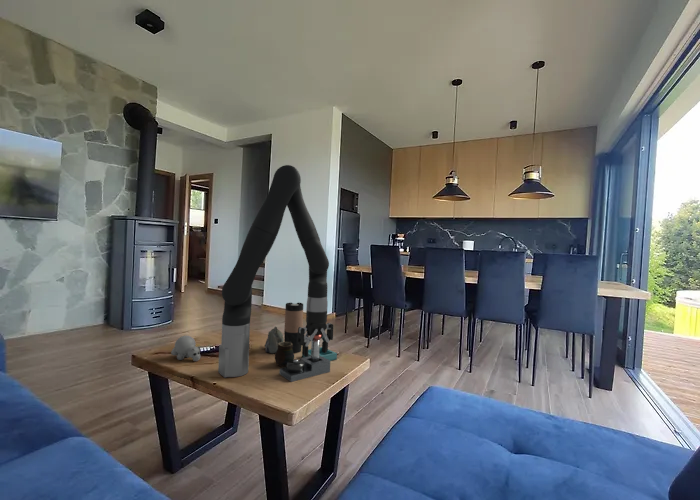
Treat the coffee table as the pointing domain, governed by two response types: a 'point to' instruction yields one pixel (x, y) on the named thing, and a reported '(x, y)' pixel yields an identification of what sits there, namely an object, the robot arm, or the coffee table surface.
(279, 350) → the mate gourd
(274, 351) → the mineral rock
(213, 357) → the coffee table surface
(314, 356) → the lock pin
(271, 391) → the coffee table surface
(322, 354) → the tray
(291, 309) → the travel mug
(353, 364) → the coffee table surface
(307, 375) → the block
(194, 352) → the chubby cartoon animal
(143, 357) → the coffee table surface
